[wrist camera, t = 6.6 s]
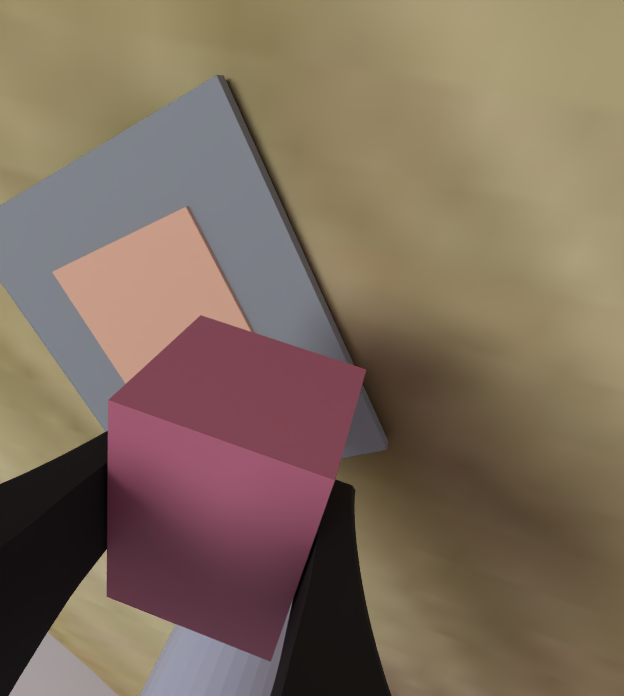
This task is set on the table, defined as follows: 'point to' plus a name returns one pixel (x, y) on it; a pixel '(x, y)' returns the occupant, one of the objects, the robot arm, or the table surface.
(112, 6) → the table surface
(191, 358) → the pink rectangular block
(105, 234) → the mat
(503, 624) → the table surface
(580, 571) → the table surface
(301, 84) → the table surface
